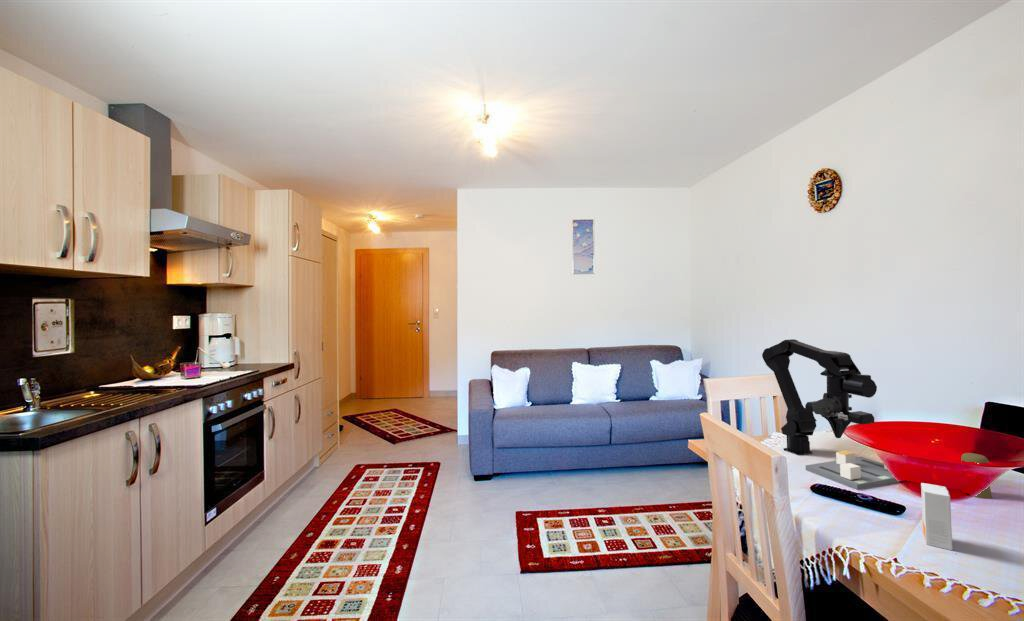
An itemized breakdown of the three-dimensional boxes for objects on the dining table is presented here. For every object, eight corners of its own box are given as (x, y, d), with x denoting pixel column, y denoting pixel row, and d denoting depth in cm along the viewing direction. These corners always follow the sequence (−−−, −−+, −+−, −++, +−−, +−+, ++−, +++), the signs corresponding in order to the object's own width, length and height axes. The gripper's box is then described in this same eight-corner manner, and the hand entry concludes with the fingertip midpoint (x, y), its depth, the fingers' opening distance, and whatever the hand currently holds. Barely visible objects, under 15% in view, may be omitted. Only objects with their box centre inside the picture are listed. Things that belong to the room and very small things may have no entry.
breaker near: (840, 476, 127) (840, 464, 127) (850, 474, 128) (850, 462, 128) (850, 479, 124) (850, 468, 124) (860, 478, 125) (860, 466, 125)
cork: (995, 500, 112) (994, 459, 112) (962, 495, 116) (961, 455, 116) (988, 492, 117) (987, 453, 117) (957, 487, 121) (956, 449, 121)
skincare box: (922, 533, 98) (920, 482, 98) (948, 539, 95) (946, 486, 95) (925, 544, 93) (923, 491, 93) (953, 551, 91) (951, 496, 91)
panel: (805, 469, 137) (805, 465, 137) (860, 460, 143) (860, 456, 143) (857, 489, 121) (856, 484, 121) (916, 478, 127) (916, 473, 127)
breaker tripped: (836, 463, 137) (836, 451, 137) (845, 461, 138) (845, 450, 138) (845, 466, 134) (845, 454, 134) (855, 464, 135) (854, 453, 135)
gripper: (792, 387, 145) (793, 432, 145) (848, 399, 127) (848, 450, 127) (817, 384, 148) (818, 428, 148) (875, 396, 130) (875, 446, 130)
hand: (838, 437), depth 138 cm, fingers closed
